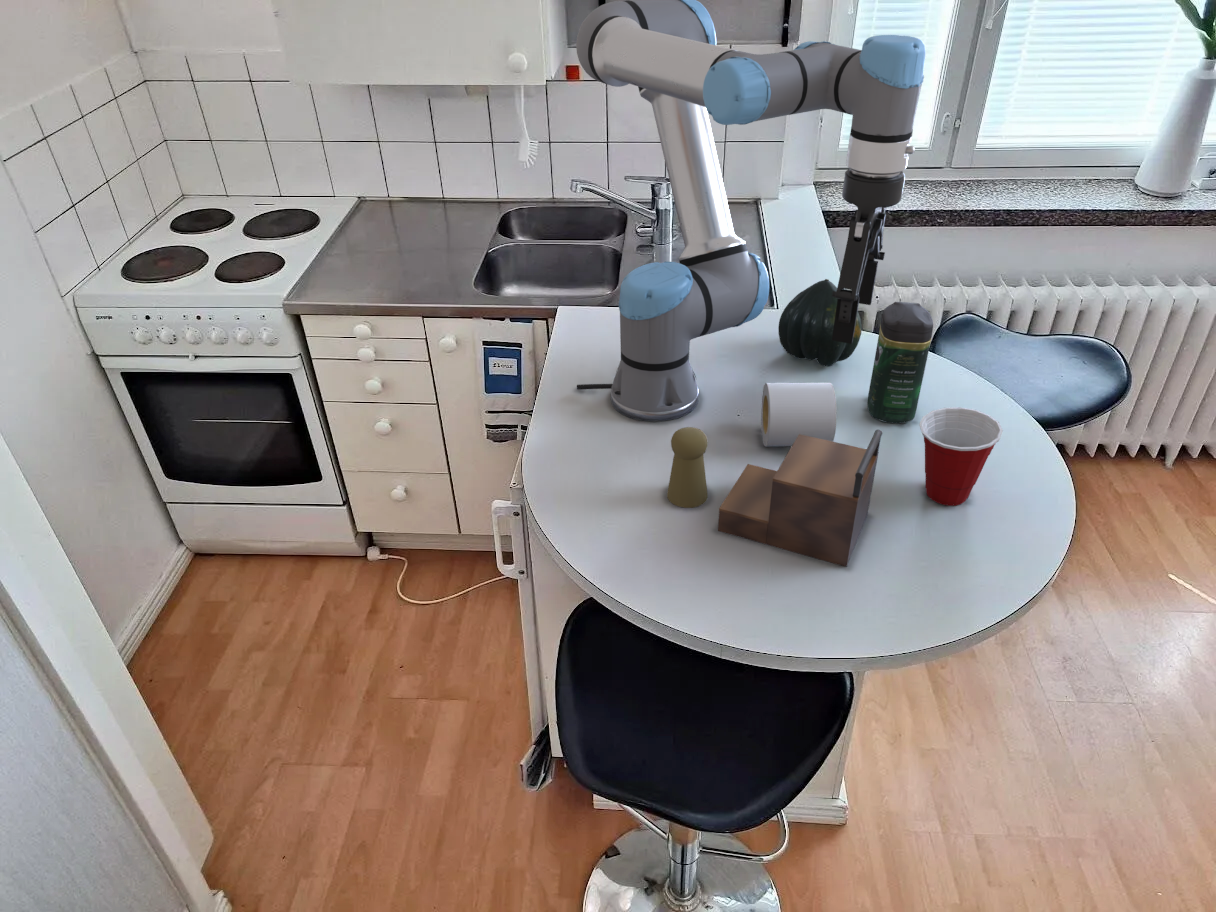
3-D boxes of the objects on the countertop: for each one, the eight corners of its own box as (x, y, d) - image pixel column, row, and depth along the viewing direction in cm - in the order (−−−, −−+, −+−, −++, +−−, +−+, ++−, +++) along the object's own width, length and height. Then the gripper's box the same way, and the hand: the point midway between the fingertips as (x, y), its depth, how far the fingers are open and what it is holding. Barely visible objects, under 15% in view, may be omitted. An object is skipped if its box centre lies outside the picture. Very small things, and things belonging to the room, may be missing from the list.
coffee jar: (917, 427, 143) (939, 323, 132) (868, 423, 144) (885, 320, 134) (912, 398, 151) (932, 298, 140) (865, 395, 152) (881, 296, 142)
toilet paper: (766, 458, 136) (772, 403, 131) (759, 425, 144) (764, 371, 139) (831, 458, 136) (839, 402, 130) (820, 425, 144) (827, 371, 139)
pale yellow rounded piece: (685, 479, 132) (687, 416, 126) (716, 495, 128) (720, 432, 122) (658, 496, 128) (659, 432, 122) (689, 513, 125) (691, 449, 119)
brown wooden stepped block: (717, 531, 121) (723, 442, 113) (745, 485, 130) (752, 400, 122) (847, 567, 114) (862, 475, 106) (867, 516, 123) (883, 428, 115)
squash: (808, 358, 152) (855, 284, 151) (751, 331, 163) (795, 262, 162) (846, 389, 162) (890, 319, 161) (790, 362, 173) (831, 296, 171)
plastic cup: (895, 476, 131) (908, 407, 125) (964, 471, 132) (981, 402, 125) (922, 519, 122) (938, 448, 116) (997, 514, 123) (1017, 443, 116)
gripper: (889, 202, 101) (862, 364, 113) (919, 148, 120) (893, 292, 132) (824, 194, 104) (804, 353, 115) (864, 143, 122) (844, 284, 134)
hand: (852, 321), depth 124 cm, fingers open, 13 cm apart
